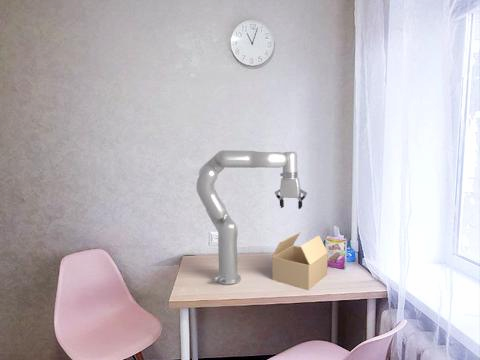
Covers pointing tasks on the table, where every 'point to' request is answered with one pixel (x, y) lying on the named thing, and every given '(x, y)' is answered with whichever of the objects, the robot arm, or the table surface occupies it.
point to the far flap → (286, 244)
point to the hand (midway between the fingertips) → (290, 207)
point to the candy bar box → (336, 252)
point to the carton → (298, 268)
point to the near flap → (313, 249)
